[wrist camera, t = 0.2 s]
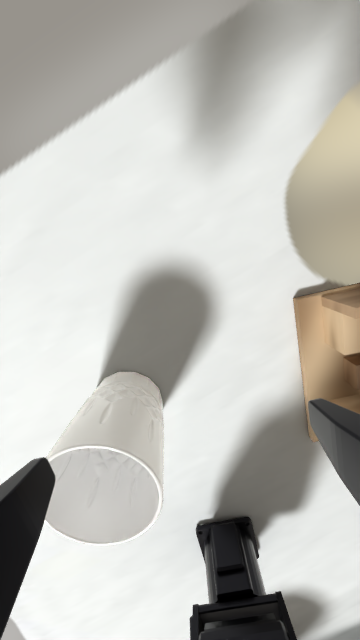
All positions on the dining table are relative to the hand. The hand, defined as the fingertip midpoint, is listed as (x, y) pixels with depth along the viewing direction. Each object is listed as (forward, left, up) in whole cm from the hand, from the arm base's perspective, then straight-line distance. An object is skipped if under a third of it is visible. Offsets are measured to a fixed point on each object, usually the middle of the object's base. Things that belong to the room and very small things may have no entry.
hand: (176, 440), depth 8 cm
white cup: (-7, +7, -15) cm, 18 cm away
